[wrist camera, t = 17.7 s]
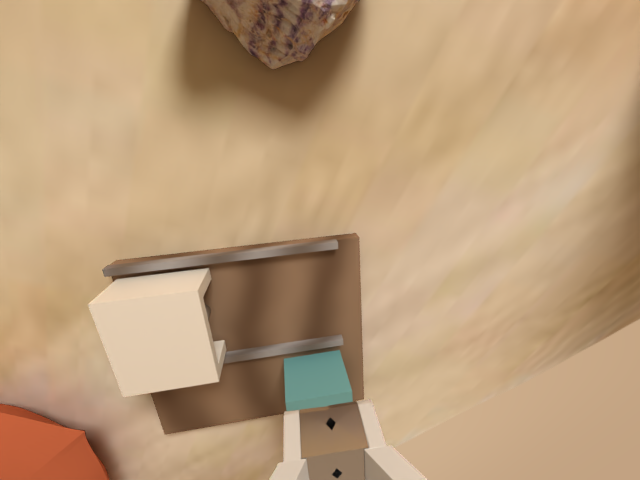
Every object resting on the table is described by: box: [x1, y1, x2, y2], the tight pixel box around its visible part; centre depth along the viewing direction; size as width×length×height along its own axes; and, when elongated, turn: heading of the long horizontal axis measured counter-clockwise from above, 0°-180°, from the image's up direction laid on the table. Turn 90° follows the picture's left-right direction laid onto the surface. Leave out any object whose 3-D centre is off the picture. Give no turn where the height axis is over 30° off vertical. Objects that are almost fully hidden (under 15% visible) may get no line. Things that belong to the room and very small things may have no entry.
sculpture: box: [0, 404, 109, 480], centre depth 26 cm, size 20×6×15 cm
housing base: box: [102, 233, 364, 434], centre depth 25 cm, size 20×18×6 cm
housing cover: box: [88, 268, 226, 397], centre depth 23 cm, size 7×8×4 cm
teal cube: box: [284, 350, 353, 411], centre depth 27 cm, size 5×5×5 cm
